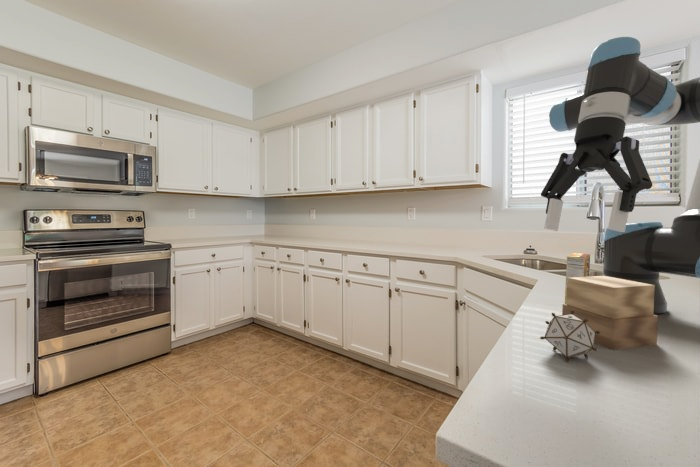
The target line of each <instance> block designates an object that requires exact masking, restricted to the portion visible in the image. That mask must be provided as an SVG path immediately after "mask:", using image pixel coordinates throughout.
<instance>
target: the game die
mask: <svg viewBox="0 0 700 467" xmlns="http://www.w3.org/2000/svg"><path fill="white" fill-rule="evenodd" d="M551 316H552V317H553V318H551V320H550V321H548V320H546V321H544V323H545V324H546V325H547V329H546V330H545V331H546V332H545V334H544V336H540V337H539V339H540V340H546V341H547V342H548V343H550V344H551V345H552V346H553V347H552V350H553V351H556V350H557V351H558V352H560V354H562V355H563V356H564V357H565V358H564V361H565V362H566V363H567V362H569V358H573V357H574V358H575V357H578V356H579V357H580V356H583V357H585V358H587V359H588V358H589V355H588V354H587V353H589V352H590V351H592V350H593V351H594V352H599V350H598V348H597V347H594V345H595V343H594V340H595V334H599V333H600V331H594V330H593V329H592V328H591V327H590V326H589V325H588V324H587V323H586V322H587V321H588V319H584V321H583V320H582V319H580V318H578V317H577V316H575V315H574V311H573V310H572V311H571V314H567V315H562V314H561V315H556V314H555V312H551Z"/></svg>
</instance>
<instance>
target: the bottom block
mask: <svg viewBox="0 0 700 467" xmlns="http://www.w3.org/2000/svg"><path fill="white" fill-rule="evenodd" d="M572 310H573V311H574V315H575V316H577V317H578V318H580V319H582V320H583V321H584V319H588V321H587V322H586V323H587V324H588V325H589V326H590V327H591V328H592V329H593V330H594V331H600V333H599V334H595V340H594V344H596V345H599V346H601V347H604V348H606V349H608V350H611V351H613V350H616V351H617V350H624V349H633V348H639V347H649V346H650V347H651V346H656V345H657V344H658V330H659V329H658V327H659V315H657V314H653V315H649V316H638V317H627V318H616V319H611V318H608V317H605V316H602V315H599V314H596V313H592V312H589V311H586V310H583V309H580V308H576V307H573V306H570V305H567V304H565V303H563V304H562V311H561V312H562V314H561V315H567V314H571V311H572Z"/></svg>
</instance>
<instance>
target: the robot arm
mask: <svg viewBox="0 0 700 467" xmlns="http://www.w3.org/2000/svg"><path fill="white" fill-rule="evenodd" d="M641 53H642V52H641V43H640V41H639V40H638V39H637V38H636V37H632V36H619V37H613V38H611V39H608V40H607V41H604V42H601V43H600V44H598V45H597V47H596V48H595V47H594V50H593V51H592V52H591V57H590V59H589V63H588V67H587V68H586V71H587V72H586V78H585V84H584V89H583V93H581V94H578V95H575V96H571V97H569V98H565V99H562V100H561V101H559V102H555V103H554V105H553V106H552V107H551V108H550V109H549V115H548V116H549V121H548V122H549V124H550V126H551V128H552V129H553V130H554V131H556V132H567V131H568V132H569V131H572V130H575V129H576V130H575V134H574V138H573V141H574V144H575V150H574V152H573V153H566V152H562V153H561V154H560V156H559V160H558V163H557V164H556V167H555V168H554V170H553V171H552V174H551V176H550V177H549V178H548V181H547V182H546V184H545V185H544V187H543V189H542V191H541V193H540V197H542V198H546V199H547V205H546V209H545V214H546V217H545V223H544V229H546V230H550V231H553V232H558V230H559V225H560V219H561V214H562V210H563V205H564V200H562V199H563V196H565V194H567V192H568V191H569V190H570V189H571V188H572V187H573V186H574V184H575V183H576V182H577V181H578V179H580V178H581V177H582V176H585V175H586V174H587V173H591V172H594V171H602V170H605V171H606V172H607V174H608V175H609V176H610V177H611V179H612V180H613V181H614V183H615V184H616V185H617V187H618V189H617V190H619V191H615V192H614V196H613V202H612V207H611V210H610V211H611V212H610V217H609V222H608V227H607V228H606V229H605V232H604V239H603V243H604V244H603V269H602V270H603V272H602V276H609V277H614V278H619V279H625V280H630V281H635V282H641V283H646V284H651V285H655V290H654V310H653V315H657V314H665V313H667V311H668V302H667V299H666V298H665V294H664V292H663V289H662V285H661V284H660V283H661V282H660V274H667V275H676V276H681V277H689V278H697V279H700V159H699V160H698V164H697V166H696V171H695V175H694V178H693V182H692V186H691V188H690V193H689V197H688V199H687V203H686V207H685V210H684V213H681V214H680V215H677V216H675V217H674V219H673V221H672V225H671V227H664V225H663V224H662V222H661V221H651V222H650V221H647V222H634V223H628V217H629V213H632V212H633V210H634V209H635V203H636V198H637V194H639V192H641V191H643V190H650V189H652V187H653V182H652V180H651V177H650V175H649V173H648V171H647V167H646V165H645V163H644V161H643V159H642V158H643V157H642V155H641V153H640V151H639V150H640V141H639V139H635V138H633V137H629V136H624V135H625V131H626V126H627V124H629V125H630V124H639V123H640V124H641V123H642V124H645V125H648V126H670V125H672V126H673V125H674V126H675V125H687V124H688V125H690V124H697V123H700V77H696V78H692V79H690V80H687V81H683V82H680V83H678V84H674V83H673V82H672V81H671V80H670V79H668V78H667V77H666V76H665V75H662V74H661V73H658V72H657V71H654V70H653V69H652V68H649V67H648V66H647V64H645V63H643V62H642V61H640V58H639V57H640V56H641ZM619 152H620V153H621V157H622V159H623V162H624V164H625V167H626V170H627V171H628V173H627V172H626V171H625V170H624V169H623V168H622V166H621V164H620V162H619V161H618V160H617V158H615V157H616V156H617V154H618V153H619Z"/></svg>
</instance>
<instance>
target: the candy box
mask: <svg viewBox="0 0 700 467" xmlns="http://www.w3.org/2000/svg"><path fill="white" fill-rule="evenodd" d="M590 264H591V254H589V253H579V252H572V253H569V255H567V256H566V268H565V270H566V271H565V289H564V291H565V292H564V304H567V278H572V277H589V276H590V267H591V265H590Z"/></svg>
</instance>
